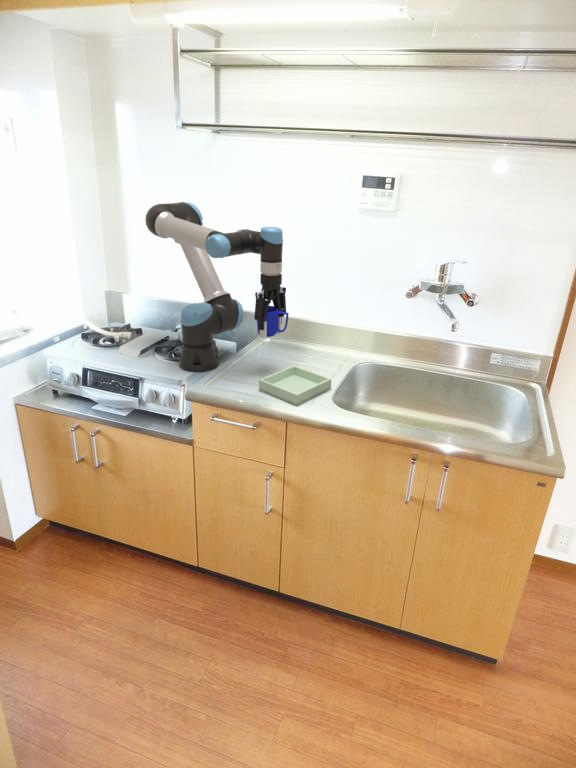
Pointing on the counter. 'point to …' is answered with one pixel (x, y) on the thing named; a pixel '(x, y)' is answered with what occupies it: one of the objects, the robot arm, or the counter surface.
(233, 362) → the counter surface
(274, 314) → the mug
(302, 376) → the tray
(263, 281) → the robot arm
